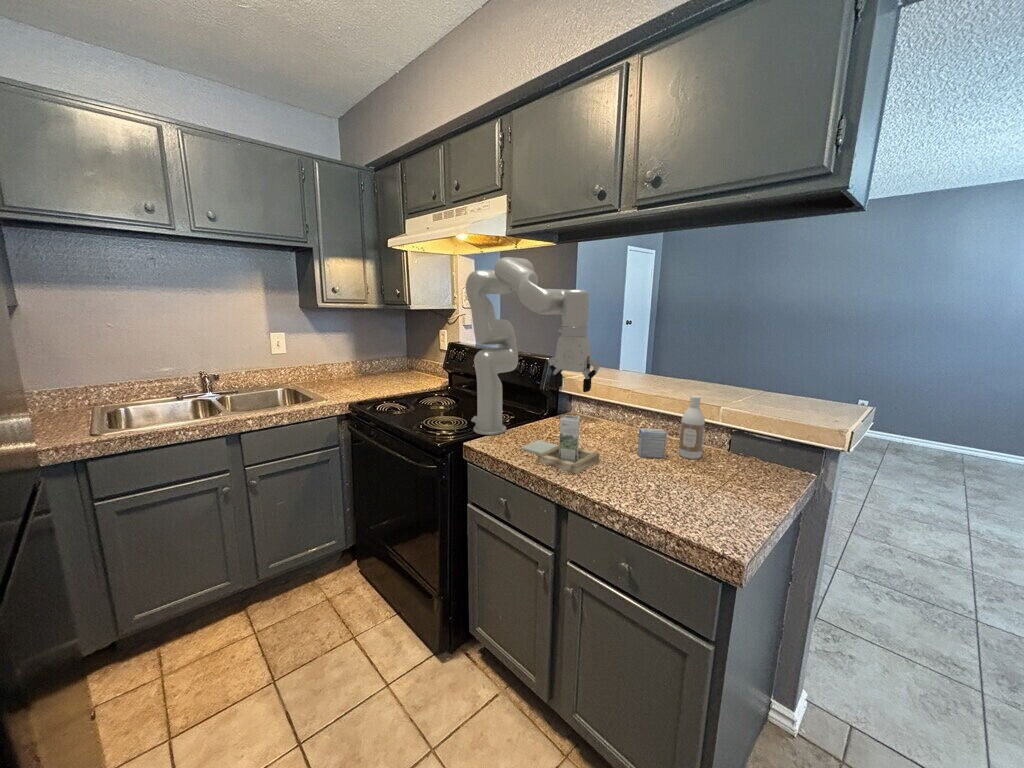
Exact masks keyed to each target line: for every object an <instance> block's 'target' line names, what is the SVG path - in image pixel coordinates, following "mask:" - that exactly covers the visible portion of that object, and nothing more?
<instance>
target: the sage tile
mask: <svg viewBox="0 0 1024 768" xmlns="http://www.w3.org/2000/svg"><path fill="white" fill-rule="evenodd" d="M558 445H559V444H555V443H552V442H548V441H544V440H540V439H537V440H535V441H533V442H530V443H528V444H526V445H524V446H521V447H520V450H521V451H524V450H525V452H527V451H528V453H531V452H532V453H531V454H534V455H538V454H541V453H543V452H545V451H547V450H549V449H551V448H553V447H556V446H558Z"/></svg>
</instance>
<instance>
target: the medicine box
mask: <svg viewBox="0 0 1024 768" xmlns="http://www.w3.org/2000/svg"><path fill="white" fill-rule="evenodd" d="M667 435H668V434H667V432H666V431H665V430H664V429H663V428H648V427H647V428H642V427H641V428H638V439H637V441H638V442H637V454H638V456H639V457H640V458H657V459H658V458H659V459H665V458H666V456H665V455H666V445H667Z"/></svg>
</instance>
